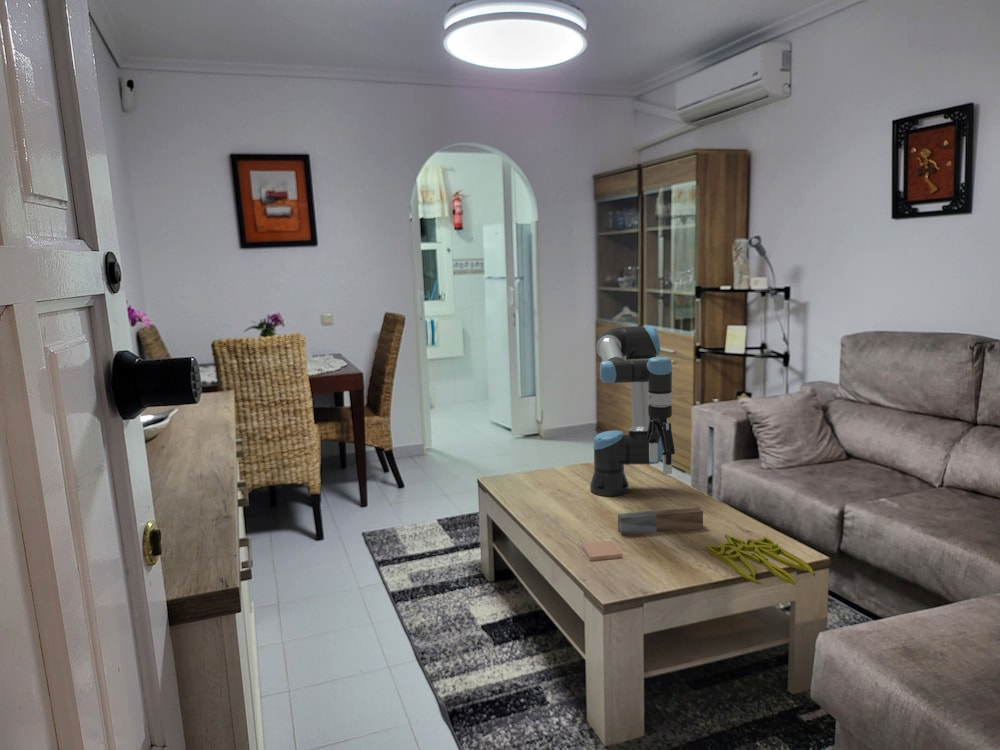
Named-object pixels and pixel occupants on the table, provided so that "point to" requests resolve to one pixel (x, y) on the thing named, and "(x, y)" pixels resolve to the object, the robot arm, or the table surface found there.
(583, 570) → the table surface
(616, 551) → the tile
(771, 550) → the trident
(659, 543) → the table surface
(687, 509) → the brown and grey bar
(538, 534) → the table surface
